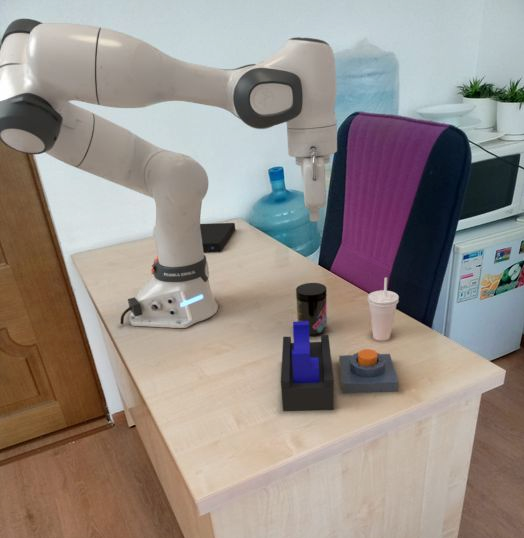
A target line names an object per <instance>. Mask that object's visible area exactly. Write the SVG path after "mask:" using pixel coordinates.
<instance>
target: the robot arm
mask: <svg viewBox="0 0 524 538" xmlns="http://www.w3.org/2000/svg"><path fill="white" fill-rule="evenodd" d="M336 66H337V65H336V59H335V54H334V50H333V48H332V46H330V44H329V43H328V42H327V41H325V40H322V39H319V38H313V37H312V38H311V37H300V36H299V37H292V38H289V39H287V41H286V42H285V43H284V45H282V46H281V47H280V48H278V49H277V50H276V51H275V52H273V53H272V54H271V55H269V56H268V57H266V58H264V59H263V60H261V61H259V62H257V63H250V64H245V65H243V66H239V67H236V68H232V69H224V68H218V67H212V66H208V65H202V64H197V63H192V62H187V61H183V60H180V59H177V58H175V57H173V56H171V55H169V54H166V53H165V52H163V51H162V50H160V49H158V48H156V47H155V46H154V45H152V44H150V43H148V42H146V41H144V40H142V39H140V38H137V37H134V36H132V35H130V34H128V33H125V32H121V31H117V30H114V29H111V28H105V27H100V26H95V25H90V24H89V25H88V24H81V23H69V22H44V23H43V22H41V21H38V20H36V19H32V18H17V19H14V20H13V21H11V22H10V24H8V26H7V27H6V29H5V31H4V33H3V35H2V38H1V40H0V142H1V143H2V144H3V145H5V146H6V147H8V148H9V149H12V150H13V151H17V152H19V153H22V154H27V155H41V154H46V155H48V156H50V157H52V158H54V159H56V160H58V161H60V162H62V163H64V164H67V165H68V166H70V167H71V166H72V167H73V168H76V169H78V170H81V171H83V172H86V173H88V174H91V175H94V176H96V177H99V178H101V179H102V180H103V179H104V180H106V181H108V182H111V183H114V184H116V185H119V186H122V187H124V188H126V189H129V190H131V191H134V192H137V193H139V194H142V195H144V196H146V197H149V198H152V199H153V200H154V203H155V225H154V227H153V229H152V234H153V239H154V244H155V250H156V254H157V256H156V257H155V258H154V260H153V263H152V265H151V268H150V271H151V275H153V276H152V277H151V278H150V279H149V280H148V281H147V282H146V283H145V284H144V285H143V286H142V287H141V288H140V290H139V291H138V293H137V296H136V297H131V298H127V302H128V308H126V309H125V310H124V311H123V312H122V313H121V316H120V321H119V322H120V323H119V324H120V325H124V322H125V316H126V315H127V313H129V312H130V311H131V312H130V314H129V316H128V317H129V324H130V325H131V326H133V327H134V326H135V327H150V328H151V327H152V328H168V329H169V328H170V329H186V328H189V327H191V326H192V325H194V324H196V323H199V322H202V321H204V320H207V319H210V317H213V316H214V315H215V314H216V313H217V311H218V310H219V306H218V303H217V301H216V300H215V299H216V298H215V297H214V294H213V291H212V288H211V284H210V280H209V278H210V271H209V264H208V261H207V256H206V255H205V252H203V245H202V237H201V229H200V224H201V214H202V206H203V205H202V203H203V200H204V198H205V197H206V195H207V192H208V189H209V176H208V173H207V171H206V169H205V168H204V166H202V165H201V164H200V162H198V161H197V160H196V159H194V158H193V157H191V156H190V155H188V154H184V153H180V152H175V151H172V150H168V149H165V148H162V147H159V146H157V145H155V144H153V143H151V142H150V141H148V140H145V139H144V138H143V137H140V136H138V135H137V134H135V133H134V132H132V131H131V130H129V129H128V128H125V127H124V126H121V125H119V124H117V123H115V122H112V121H111V120H108V119H106V118H104V117H102V116H100V115H98V114H97V113H94V112H93V111H90V110H87V109H85V108H83V107H80V106H78V105H76V104H74V103H72V102H71V101H77V102H82V103H87V104H91V105H96V106H100V107H101V106H102V107H106V108H113V109H114V108H115V109H116V108H117V109H139V108H140V109H141V108H142V109H143V108H146V107H150V106H154V105H157V104H161V103H165V102H184V103H185V102H187V103H191V104H197V105H204V106H210V107H215V108H220V109H224V110H226V111H228V112H230V113H231V114H232V115H234V117H236V118H238V119H239V120H241V122H242V123H244V124H245V125H246V126H248V127H249V128H252V129H256V130H266V129H270V128H273V127H274V126H278V125H282V124H284V123H286V138H287V154H288V156H289V157H293V158H294V159H295V160H294V161H295V162H294V163H295V165H296V166H300V170H301V176H302V181H303V183H302V184H303V201H304V206H305V208H306V209H308V211H309V212H308V213H309V221H310V222H313V223H314V222H316V223H317V222H319V221H320V208H325V207H326V203H327V195H326V194H327V193H326V164H329V163H330V162H331V155H334V154H335V153H337V152H338V120H337V116H336V113H335V111H336V109H335V107H336V106H335V105H336V101H337V96H338V91H337V90H338V85H337V83H338V82H337V69H336V68H337V67H336Z"/></svg>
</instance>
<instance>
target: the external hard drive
mask: <svg viewBox="0 0 524 538" xmlns="http://www.w3.org/2000/svg"><path fill="white" fill-rule="evenodd" d="M200 229H201V237H202V245H203V252H204V253H221V252H222V250H223V249H224V247H225V246H226V245H227V243H228V242H229V240H230V239H231V237H232V236H233V235H234V233H235V232H236V224H235V222H220V223H219V222H218V223H217V222H216V223H215V222H214V223H200Z"/></svg>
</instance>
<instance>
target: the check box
mask: <svg viewBox="0 0 524 538" xmlns="http://www.w3.org/2000/svg"><path fill="white" fill-rule="evenodd" d="M358 353H359V352H355V353H354V354H349V355H348V354H347V355H338V361H339V362H338V367H339V374H340V383H341V388H342V389H341V391H342V394H361V393H362V394H364V393H365V394H366V393H395V392H396V393H397V392H398V391H399V379H398V377H397V374H396V369H395V367H394V363H393V360H392V357H391V354H390V353H382V354H381V353H379V352H377V354H378V355H377V364H376V365H373V366H363V365H360V364H359V363H358Z"/></svg>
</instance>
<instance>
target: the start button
mask: <svg viewBox="0 0 524 538" xmlns="http://www.w3.org/2000/svg"><path fill="white" fill-rule="evenodd" d="M357 353H358V363H359V364H360V365H363V366H373V365H376V364H377V355H378V354H377V353H378V352H377V351H376V350H373V349H368V348H367V349H362V350H359V351H358V352H357Z"/></svg>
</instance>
